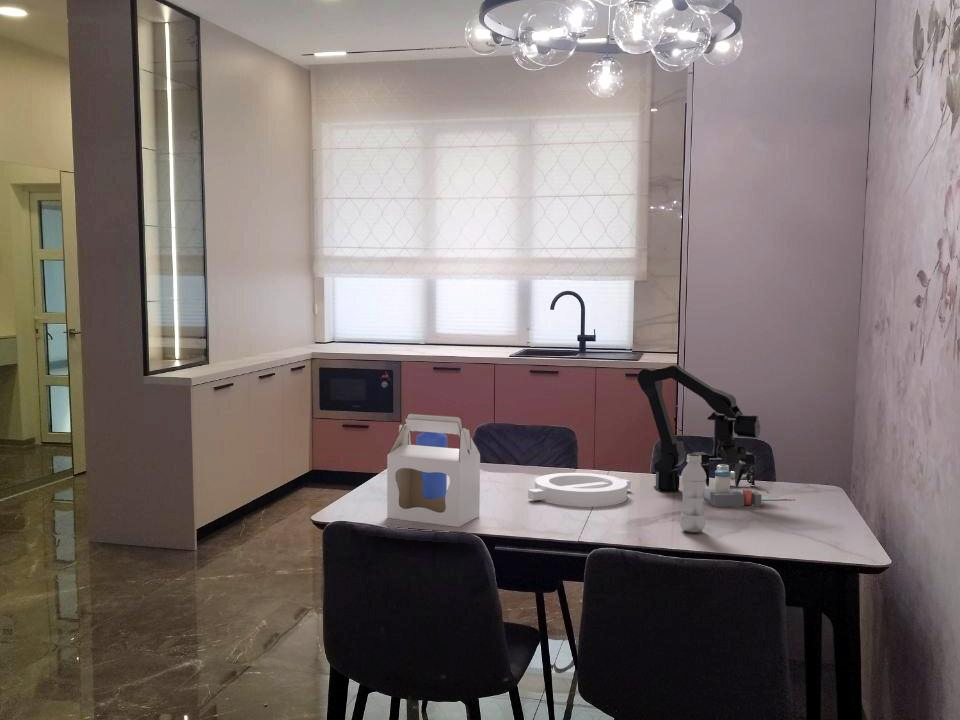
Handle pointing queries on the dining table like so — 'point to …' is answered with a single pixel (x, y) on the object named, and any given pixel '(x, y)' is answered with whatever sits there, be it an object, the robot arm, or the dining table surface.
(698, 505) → the plastic bottle
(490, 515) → the dining table surface
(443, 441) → the water bottle
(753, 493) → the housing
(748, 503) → the plunger button
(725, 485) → the cartridge
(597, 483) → the white circle with bar
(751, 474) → the valve
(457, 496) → the gable box
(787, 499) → the mat
